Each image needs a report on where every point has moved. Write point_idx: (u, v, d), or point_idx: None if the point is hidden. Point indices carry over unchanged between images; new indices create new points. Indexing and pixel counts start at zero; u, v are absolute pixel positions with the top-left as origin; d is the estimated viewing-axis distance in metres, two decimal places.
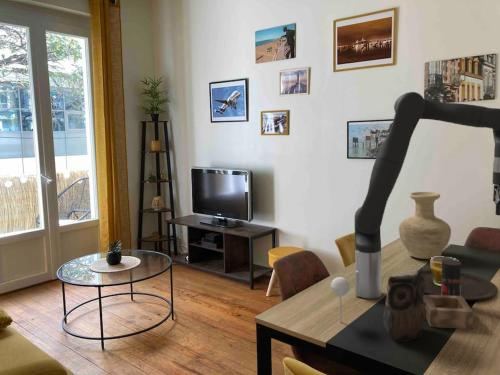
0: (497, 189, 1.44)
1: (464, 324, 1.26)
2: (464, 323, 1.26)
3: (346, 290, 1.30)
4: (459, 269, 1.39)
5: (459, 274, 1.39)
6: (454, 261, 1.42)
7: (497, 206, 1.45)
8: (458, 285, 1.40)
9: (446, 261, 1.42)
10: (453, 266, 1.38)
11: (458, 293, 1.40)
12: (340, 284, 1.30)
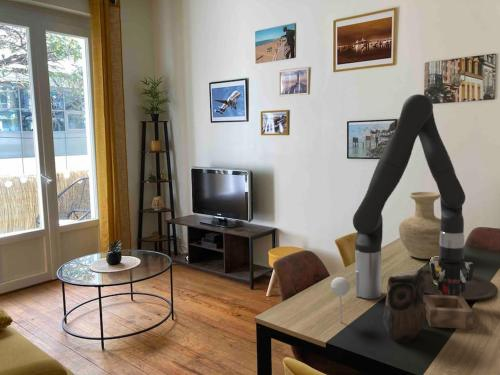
0: (441, 265, 1.41)
1: (464, 324, 1.26)
2: (464, 323, 1.26)
3: (346, 290, 1.30)
4: (459, 269, 1.39)
5: (459, 274, 1.39)
6: None
7: None
8: (458, 285, 1.40)
9: None
10: (453, 266, 1.38)
11: (458, 293, 1.40)
12: (340, 284, 1.30)
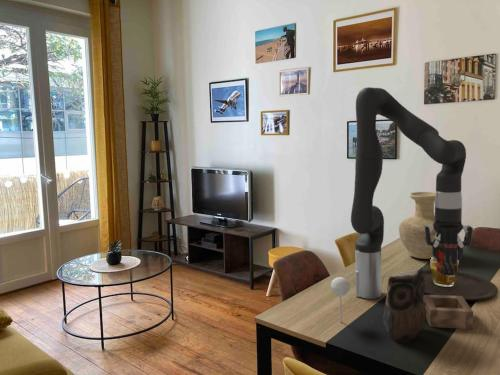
0: (436, 228, 1.28)
1: (464, 324, 1.26)
2: (464, 323, 1.26)
3: (346, 290, 1.30)
4: (456, 233, 1.26)
5: (456, 238, 1.27)
6: None
7: None
8: (455, 250, 1.27)
9: None
10: (449, 229, 1.26)
11: (455, 259, 1.27)
12: (340, 284, 1.30)
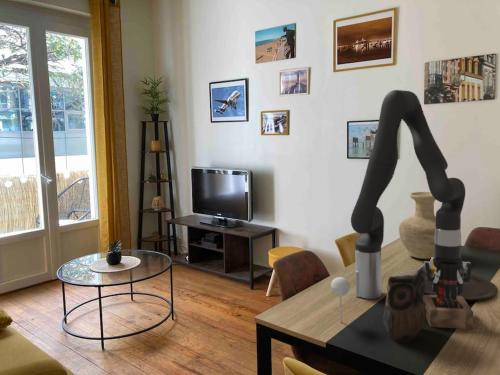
0: (436, 264, 1.30)
1: (464, 324, 1.26)
2: (464, 323, 1.26)
3: (346, 290, 1.30)
4: (456, 269, 1.28)
5: (456, 275, 1.28)
6: None
7: None
8: (455, 287, 1.28)
9: None
10: (449, 266, 1.27)
11: (455, 295, 1.29)
12: (340, 284, 1.30)
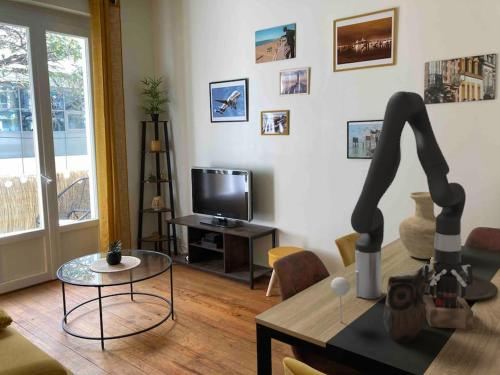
0: (435, 269, 1.30)
1: (464, 324, 1.26)
2: (464, 323, 1.26)
3: (346, 290, 1.30)
4: (455, 282, 1.28)
5: (455, 287, 1.29)
6: None
7: None
8: (454, 299, 1.29)
9: None
10: (449, 278, 1.28)
11: (454, 307, 1.29)
12: (340, 284, 1.30)
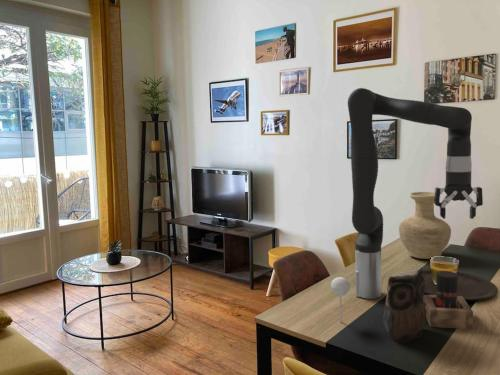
0: (446, 191, 1.36)
1: (464, 324, 1.26)
2: (464, 323, 1.26)
3: (346, 290, 1.30)
4: (455, 282, 1.28)
5: (455, 287, 1.29)
6: (450, 273, 1.31)
7: None
8: (454, 299, 1.29)
9: (441, 273, 1.31)
10: (449, 278, 1.28)
11: (454, 307, 1.29)
12: (340, 284, 1.30)
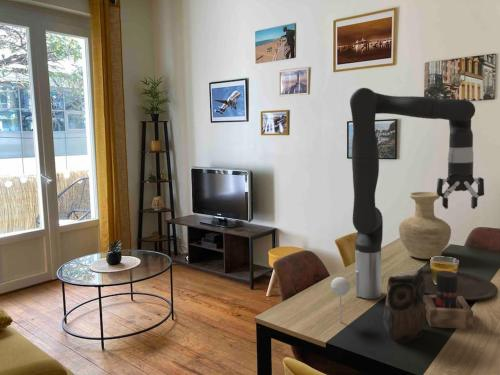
0: (449, 182, 1.40)
1: (464, 324, 1.26)
2: (464, 323, 1.26)
3: (346, 290, 1.30)
4: (455, 281, 1.28)
5: (455, 287, 1.29)
6: (450, 273, 1.31)
7: None
8: (454, 299, 1.29)
9: (441, 273, 1.31)
10: (449, 278, 1.28)
11: (454, 307, 1.29)
12: (340, 284, 1.30)
